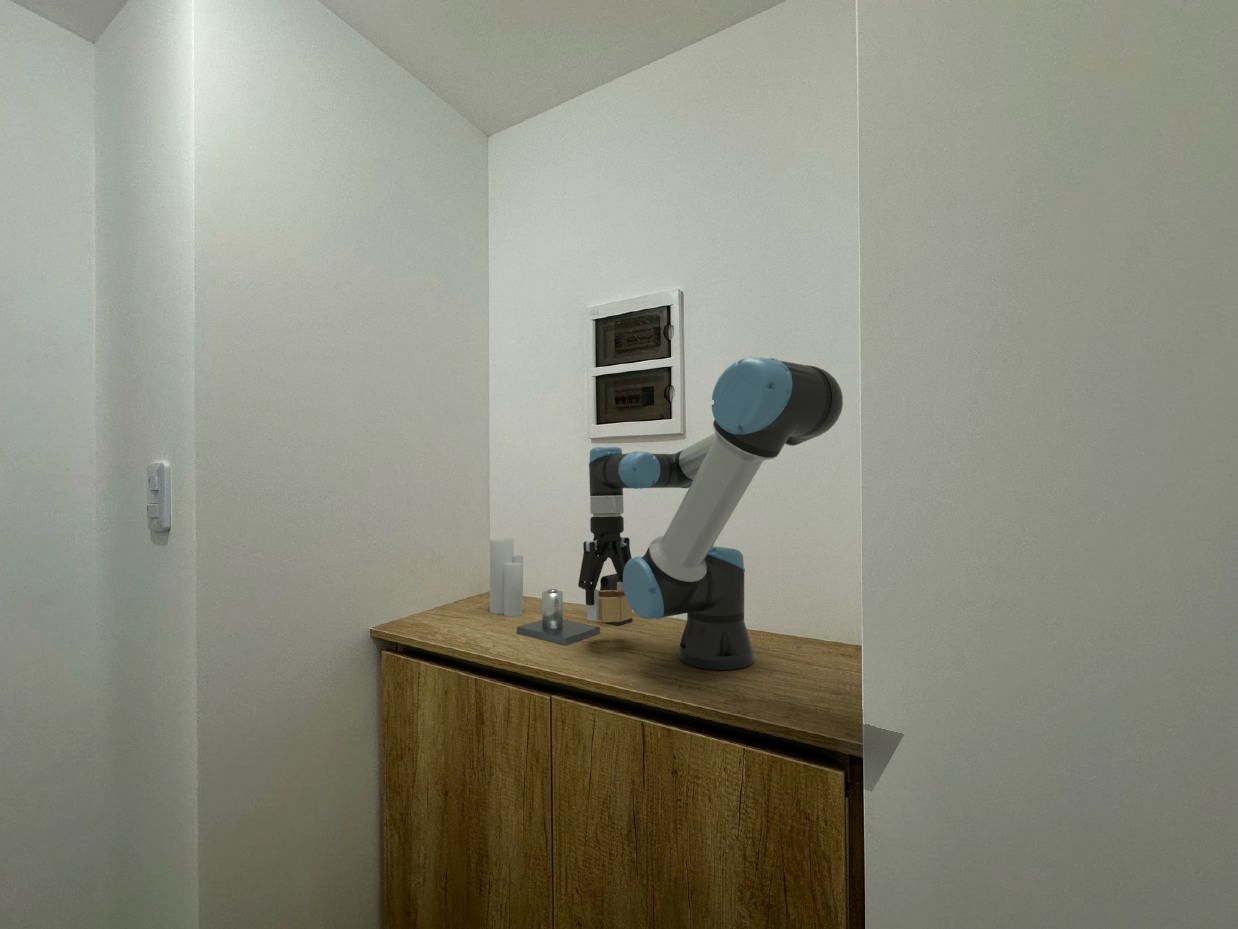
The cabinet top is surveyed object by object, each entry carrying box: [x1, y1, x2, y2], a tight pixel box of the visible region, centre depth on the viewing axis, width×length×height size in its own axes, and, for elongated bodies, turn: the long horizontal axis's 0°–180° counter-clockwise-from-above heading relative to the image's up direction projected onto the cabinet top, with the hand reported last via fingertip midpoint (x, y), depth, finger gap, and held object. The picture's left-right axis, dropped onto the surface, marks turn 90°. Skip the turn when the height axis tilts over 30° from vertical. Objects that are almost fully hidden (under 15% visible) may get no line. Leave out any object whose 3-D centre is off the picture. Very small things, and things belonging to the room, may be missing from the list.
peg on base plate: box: [516, 588, 601, 646], centre depth 134 cm, size 16×12×10 cm
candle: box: [489, 538, 524, 618], centre depth 155 cm, size 11×7×20 cm, turn 56°
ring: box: [585, 590, 633, 623], centre depth 124 cm, size 10×10×5 cm
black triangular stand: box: [599, 573, 633, 627], centre depth 146 cm, size 9×6×12 cm, turn 50°
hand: (608, 615), depth 124 cm, fingers closed on ring, 10 cm apart
